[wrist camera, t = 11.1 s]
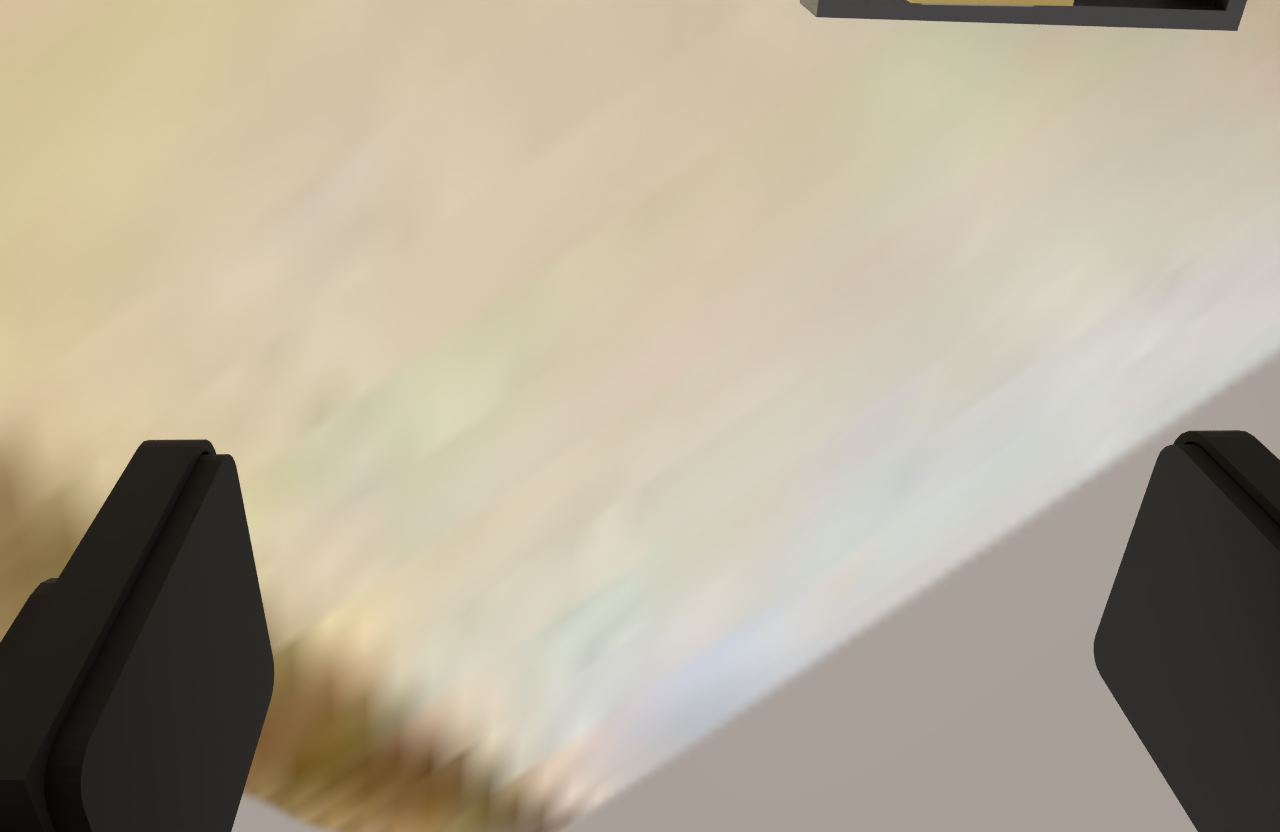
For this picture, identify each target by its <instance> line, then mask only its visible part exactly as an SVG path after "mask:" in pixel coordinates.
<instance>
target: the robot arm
mask: <svg viewBox="0 0 1280 832" xmlns="http://www.w3.org/2000/svg"><path fill="white" fill-rule="evenodd" d="M1094 657H1095V662H1096V666H1097V669H1098V671H1099V673H1100V675H1101V677H1102V678H1103V680H1104V681H1105V683H1106V685H1107V686H1108V688H1109V690H1110V691H1111V693H1112V694H1113V696H1114V698H1115V699H1116V701H1117V702H1118V704H1119V706H1120V707H1121V709H1122V710H1123V712H1124V714H1125V715H1126V717H1127V718H1128V720H1129V722H1130V723H1131V725H1132V726H1133V728H1134V730H1135V731H1136V733H1137V735H1138V736H1139V738H1140V739H1141V741H1142V743H1143V744H1144V746H1145V747H1146V749H1147V751H1148V752H1149V754H1150V755H1151V757H1152V759H1153V760H1154V762H1155V763H1156V765H1157V767H1158V768H1159V770H1160V771H1161V773H1162V774H1163V776H1164V778H1165V779H1166V781H1167V783H1168V784H1169V786H1170V787H1171V789H1172V790H1173V792H1174V794H1175V795H1176V797H1177V798H1178V800H1179V802H1180V803H1181V805H1182V807H1183V808H1184V810H1185V812H1186V813H1187V815H1188V816H1189V818H1190V820H1191V821H1192V823H1193V824H1194V826H1195V828H1196V829H1197V831H1198V832H1280V460H1279V459H1278V458H1277V457H1276V456H1275V455H1273V454H1272V453H1271V452H1270V451H1269V450H1268V449H1267V448H1266V447H1265V446H1264V445H1263V444H1262V443H1261V442H1260V441H1258V440H1257V439H1256V438H1255V437H1254V436H1252V435H1251V434H1249V433H1248V432H1245V431H1237V430H1235V431H1188V432H1185V433H1183V434H1181V435H1180V436H1179V437H1178V438H1177V439H1176V440H1175V442H1174V444H1173V445H1169V446H1167V447H1165V448H1164V449H1163V450H1162V451H1161V452H1160V454H1159V456H1158V458H1157V461H1156V464H1155V467H1154V469H1153V472H1152V475H1151V478H1150V481H1149V484H1148V487H1147V489H1146V493H1145V495H1144V498H1143V501H1142V504H1141V507H1140V510H1139V512H1138V515H1137V518H1136V521H1135V525H1134V527H1133V530H1132V533H1131V535H1130V538H1129V541H1128V544H1127V547H1126V550H1125V553H1124V556H1123V559H1122V561H1121V564H1120V567H1119V570H1118V573H1117V576H1116V578H1115V581H1114V584H1113V588H1112V590H1111V593H1110V596H1109V599H1108V601H1107V604H1106V607H1105V610H1104V613H1103V616H1102V619H1101V622H1100V625H1099V627H1098V630H1097V633H1096V636H1095V641H1094ZM273 684H274V662H273V655H272V650H271V645H270V640H269V635H268V629H267V624H266V619H265V614H264V608H263V603H262V598H261V593H260V588H259V582H258V577H257V572H256V567H255V562H254V556H253V551H252V546H251V541H250V535H249V530H248V525H247V520H246V515H245V509H244V504H243V499H242V494H241V489H240V483H239V478H238V473H237V468H236V464H235V461H234V459H233V457H232V456H231V455H229V454H216V452H215V449H214V447H213V445H212V444H211V442H209V441H208V440H148V441H144V442H143V443H142V444H141V445H140V446H139V447H138V449H137V450H136V452H135V454H134V455H133V457H132V459H131V460H130V462H129V464H128V465H127V467H126V468H125V470H124V472H123V473H122V475H121V477H120V478H119V480H118V482H117V483H116V485H115V486H114V488H113V490H112V491H111V493H110V495H109V496H108V498H107V499H106V501H105V503H104V504H103V506H102V508H101V509H100V511H99V513H98V514H97V516H96V517H95V519H94V521H93V522H92V524H91V526H90V527H89V529H88V530H87V532H86V534H85V535H84V537H83V539H82V540H81V542H80V544H79V545H78V547H77V548H76V550H75V552H74V553H73V555H72V557H71V558H70V560H69V562H68V563H67V565H66V566H65V568H64V570H63V571H62V573H61V575H60V576H59V578H51V579H49V580H46V581H44V582H42V583H40V585H39V586H38V587H37V588H36V589H35V590H34V592H33V593H32V594H31V595H30V597H29V598H28V600H27V601H26V603H25V605H24V606H23V608H22V609H21V611H20V613H19V614H18V616H17V617H16V619H15V620H14V622H13V624H12V625H11V627H10V628H9V630H8V631H7V633H6V635H5V636H4V638H3V639H2V641H1V642H0V832H231V830H232V827H233V824H234V820H235V817H236V814H237V810H238V806H239V804H240V800H241V797H242V794H243V790H244V787H245V784H246V780H247V777H248V774H249V770H250V767H251V764H252V760H253V757H254V754H255V750H256V747H257V744H258V740H259V737H260V734H261V730H262V727H263V724H264V720H265V717H266V714H267V710H268V707H269V703H270V700H271V696H272V691H273Z"/></svg>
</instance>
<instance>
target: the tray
mask: <svg viewBox="0 0 1280 832" xmlns="http://www.w3.org/2000/svg"><path fill="white" fill-rule="evenodd" d="M1246 2H1247V0H1074V3H1073V6H1044V5H1034V6H1033V7H1024V6H967V5H922V4H920V3H910V2H909V1H907V0H800V3H801V4H802V5H803V6H804V7H805V8H806V9H808V10H809V11H810V12H811V13H812V14H813V15H815V16H816V17H830V18H861V19H891V20H922V21H952V22H983V23H1014V24H1044V25H1075V26H1105V27H1136V28H1167V29H1197V30H1228V31H1237V30H1238V27H1239V23H1240V20H1241V17H1242V14H1243V11H1244V8H1245V5H1246Z"/></svg>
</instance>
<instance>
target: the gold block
mask: <svg viewBox="0 0 1280 832" xmlns="http://www.w3.org/2000/svg"><path fill="white" fill-rule="evenodd" d="M907 1H909V2H910V3H920V4H922V5H967V6H1024V7H1033V6H1034V5H1044V6H1073V3H1074V0H907Z"/></svg>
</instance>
